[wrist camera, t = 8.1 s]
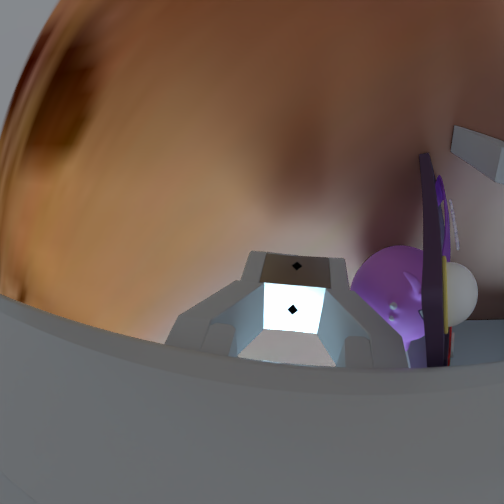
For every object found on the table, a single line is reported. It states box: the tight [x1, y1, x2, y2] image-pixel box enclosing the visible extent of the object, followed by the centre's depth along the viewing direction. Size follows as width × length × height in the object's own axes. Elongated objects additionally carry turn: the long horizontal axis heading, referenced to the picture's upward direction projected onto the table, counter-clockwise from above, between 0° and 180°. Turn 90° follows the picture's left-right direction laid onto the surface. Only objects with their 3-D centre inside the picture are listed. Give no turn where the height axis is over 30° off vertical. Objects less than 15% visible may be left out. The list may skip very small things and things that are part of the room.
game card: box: [350, 153, 478, 367], centre depth 9 cm, size 7×5×9 cm
